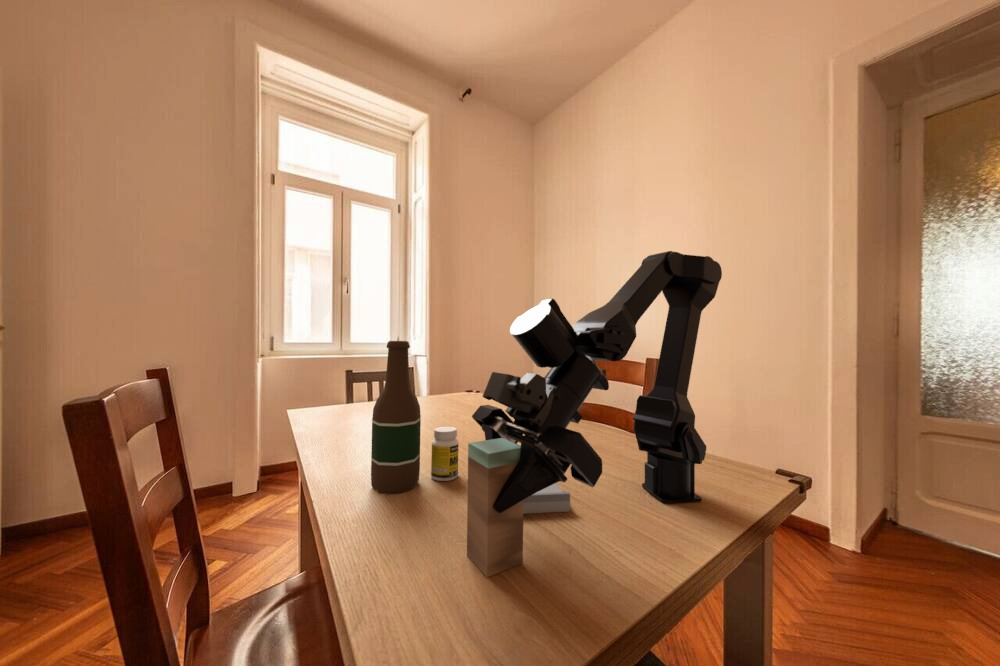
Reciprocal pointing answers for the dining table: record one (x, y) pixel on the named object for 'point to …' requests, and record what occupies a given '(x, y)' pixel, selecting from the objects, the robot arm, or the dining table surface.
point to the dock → (547, 501)
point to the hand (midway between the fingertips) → (484, 501)
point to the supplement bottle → (444, 454)
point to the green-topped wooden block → (487, 530)
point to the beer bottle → (396, 427)
